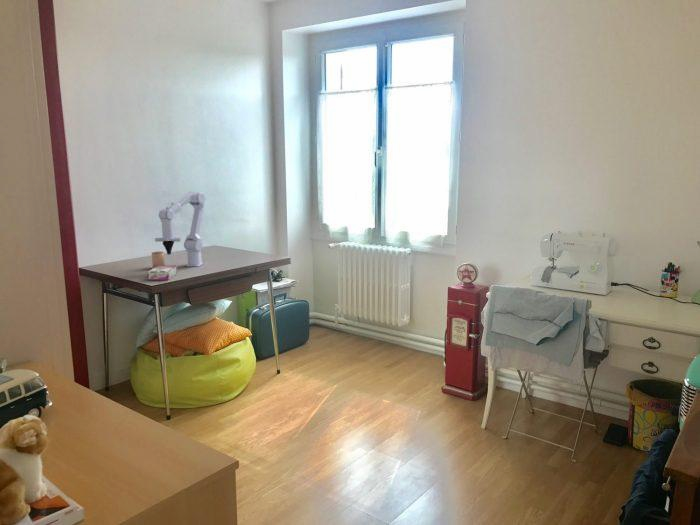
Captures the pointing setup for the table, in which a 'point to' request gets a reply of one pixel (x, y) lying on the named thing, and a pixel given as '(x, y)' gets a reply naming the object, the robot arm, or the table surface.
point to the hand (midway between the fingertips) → (169, 254)
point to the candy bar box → (162, 272)
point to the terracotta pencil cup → (158, 258)
